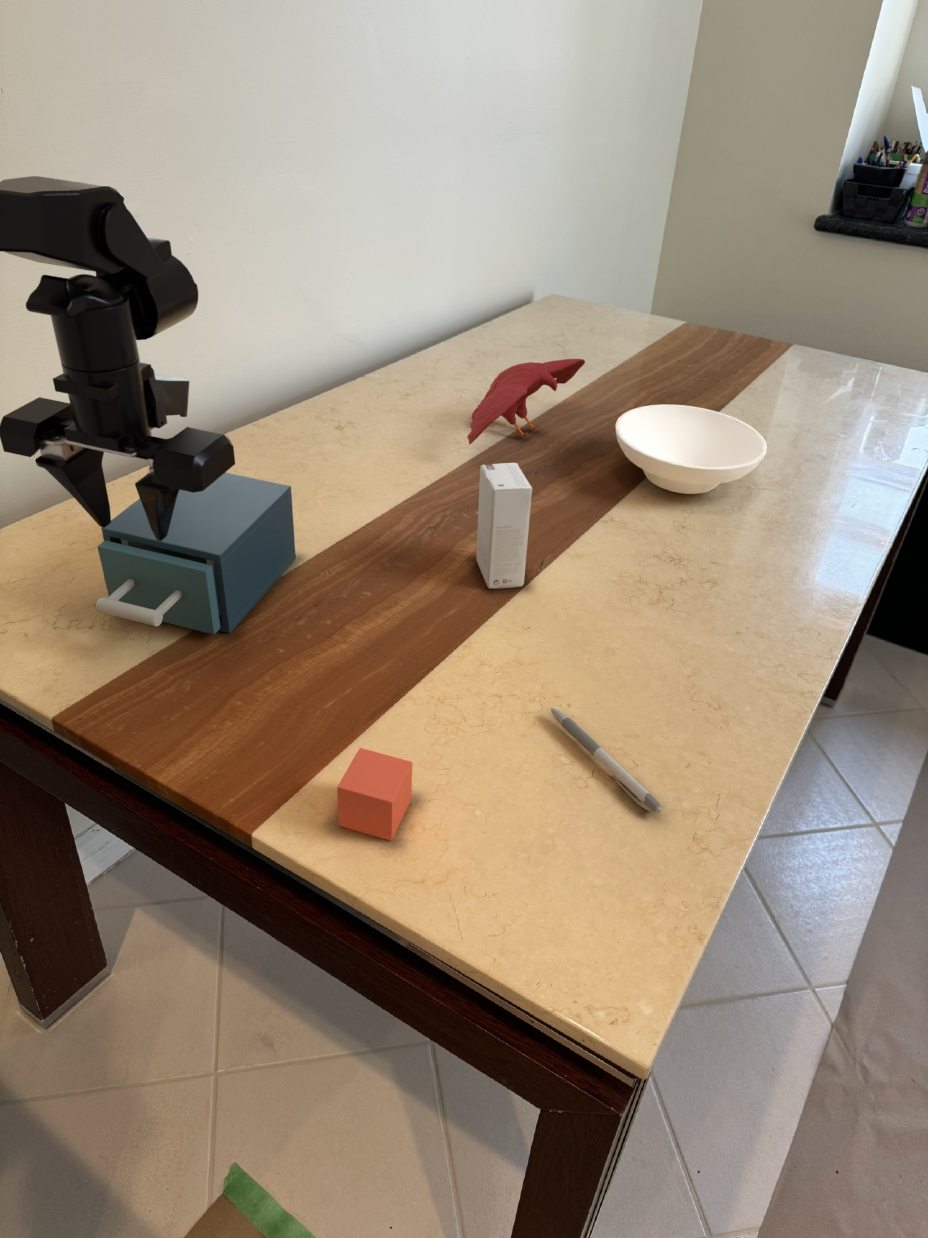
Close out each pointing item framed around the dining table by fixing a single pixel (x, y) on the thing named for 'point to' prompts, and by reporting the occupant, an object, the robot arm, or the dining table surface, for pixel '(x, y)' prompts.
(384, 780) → the terracotta rounded cube
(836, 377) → the dining table surface
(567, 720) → the pen
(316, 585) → the dining table surface
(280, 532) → the cabinet
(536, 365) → the decorative bird sculpture
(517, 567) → the cosmetic box
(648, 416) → the bowl
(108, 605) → the open handled drawer
